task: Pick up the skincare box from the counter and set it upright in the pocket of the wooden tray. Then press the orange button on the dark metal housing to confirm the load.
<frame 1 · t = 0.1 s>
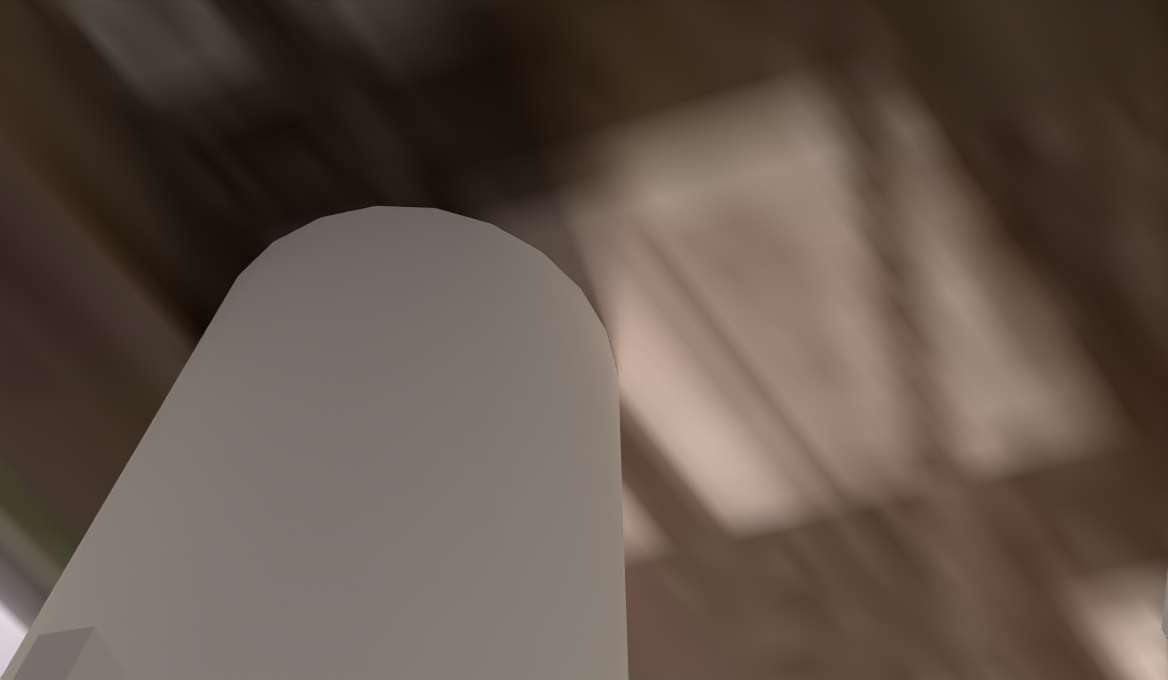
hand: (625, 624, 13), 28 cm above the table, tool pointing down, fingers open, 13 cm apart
cylinder: (416, 387, 46), on the table
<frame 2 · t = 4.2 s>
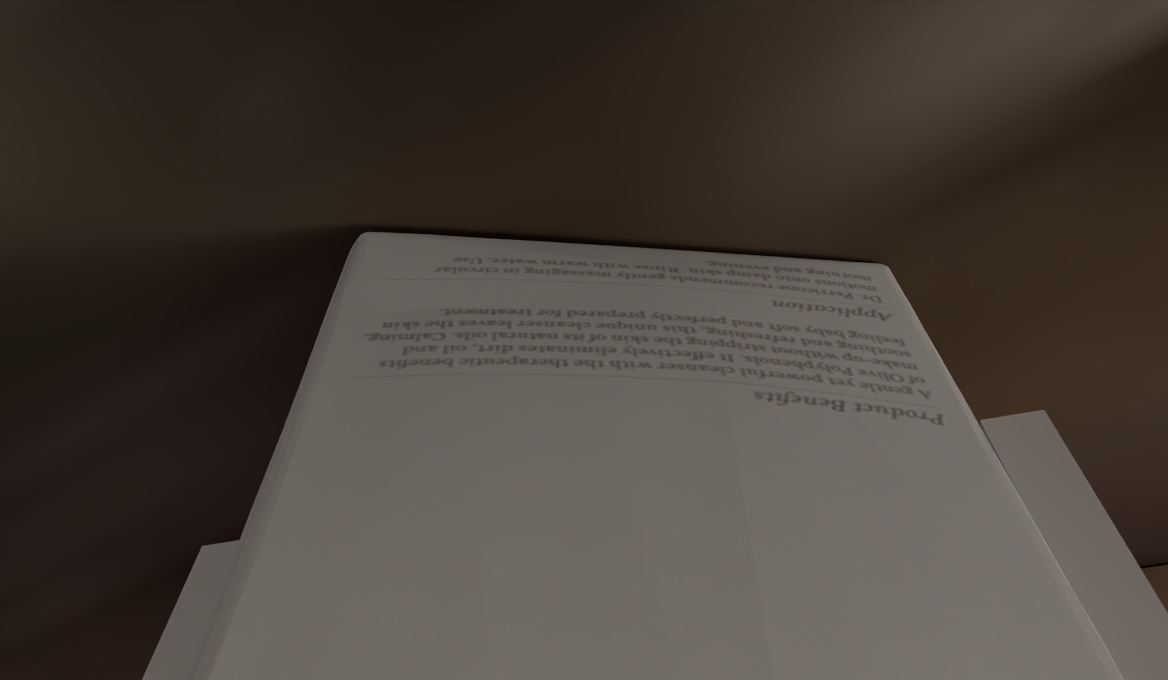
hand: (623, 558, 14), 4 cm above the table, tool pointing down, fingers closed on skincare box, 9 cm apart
skincare box: (618, 393, 17), on the table, touching gripper
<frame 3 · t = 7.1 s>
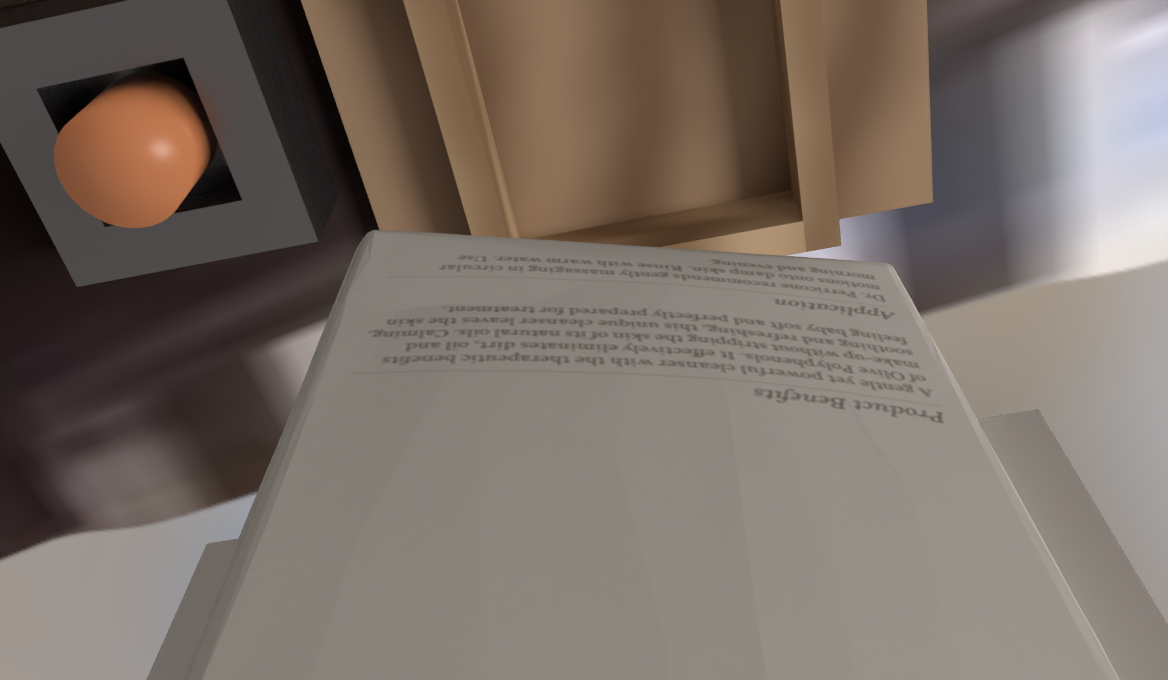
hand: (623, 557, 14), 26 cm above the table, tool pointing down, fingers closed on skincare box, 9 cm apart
button housing: (176, 108, 38), on the table
skincare box: (623, 391, 17), point 22 cm above the table, touching gripper
button: (139, 149, 35), point 4 cm above the table, slide at 0.0 cm
wooden tray: (625, 60, 37), on the table
when the fingers open (6 cm above the table, at t = 10.4 s): skincare box drops 1 cm, resting on wooden tray.
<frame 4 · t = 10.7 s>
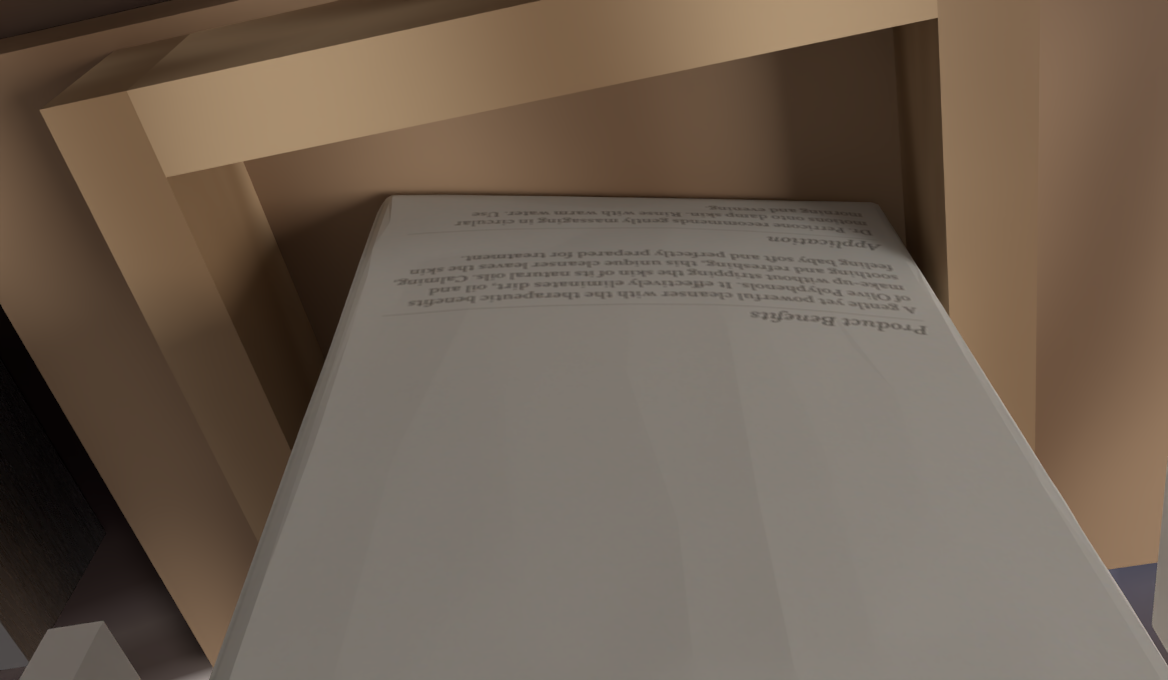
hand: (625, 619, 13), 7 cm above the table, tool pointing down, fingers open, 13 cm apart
skincare box: (632, 339, 18), point 1 cm above the table, touching wooden tray
wooden tray: (615, 316, 19), on the table
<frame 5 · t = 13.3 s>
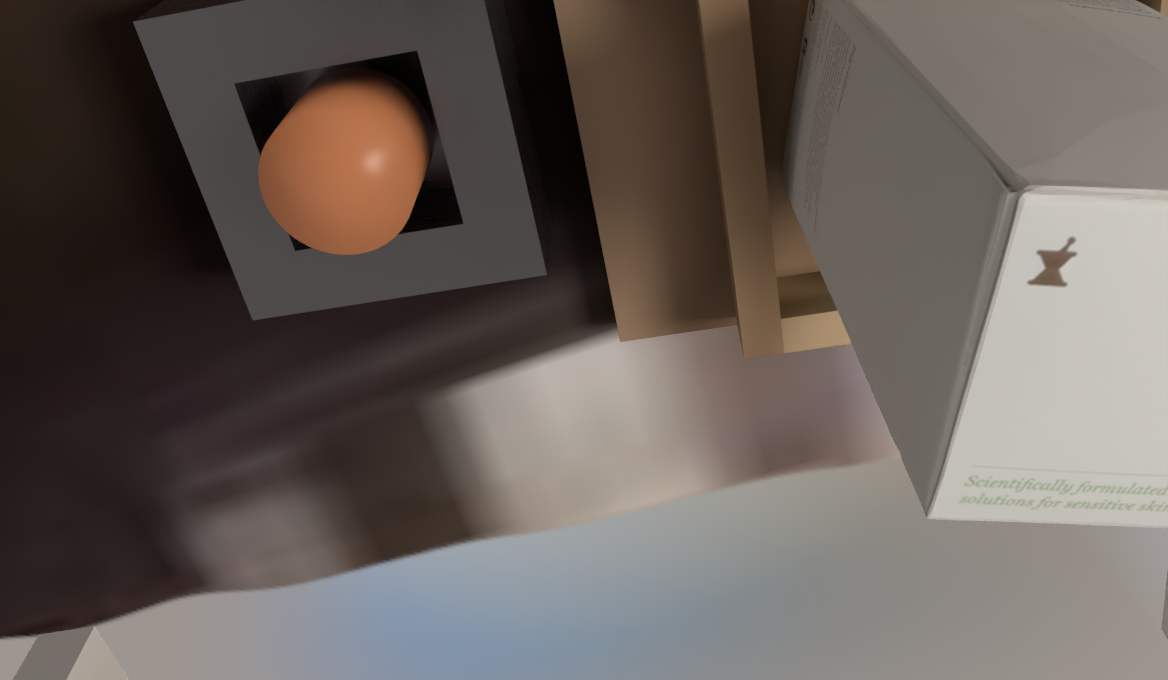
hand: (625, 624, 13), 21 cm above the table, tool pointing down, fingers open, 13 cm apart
button housing: (376, 112, 32), on the table
skincare box: (939, 75, 30), point 1 cm above the table, touching wooden tray
button: (350, 159, 29), point 4 cm above the table, slide at 0.0 cm
wooden tray: (919, 68, 31), on the table
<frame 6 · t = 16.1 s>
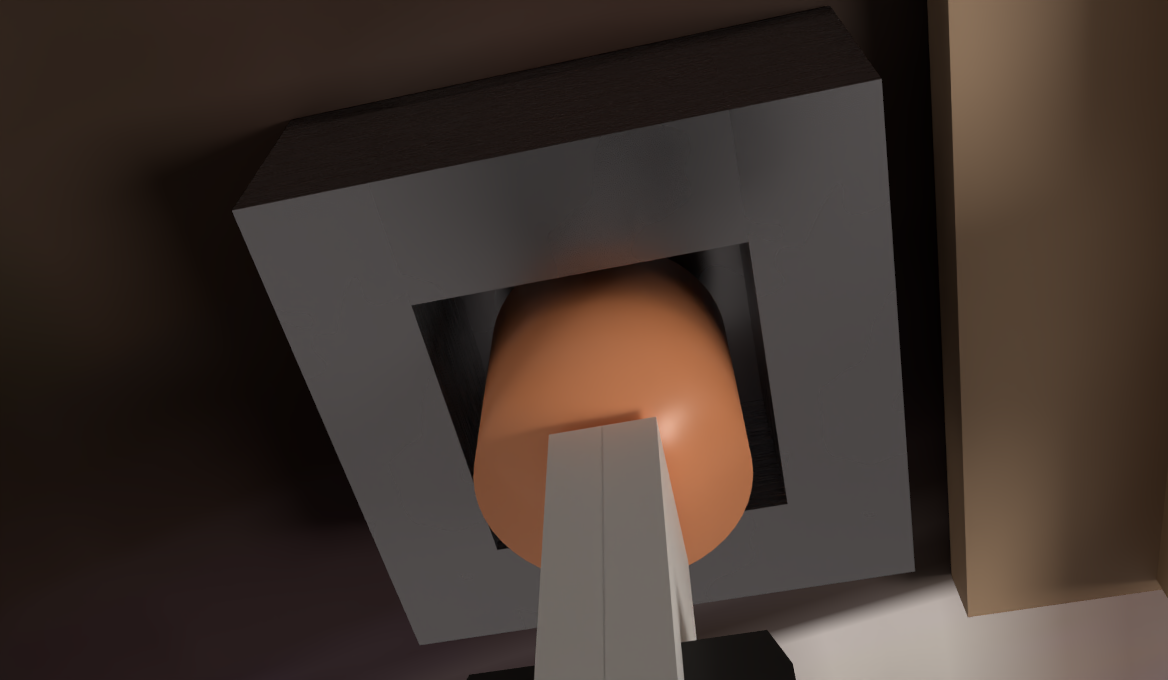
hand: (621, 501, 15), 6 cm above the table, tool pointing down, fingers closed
button housing: (607, 298, 20), on the table
button: (610, 410, 17), point 3 cm above the table, slide at 0.3 cm, touching gripper
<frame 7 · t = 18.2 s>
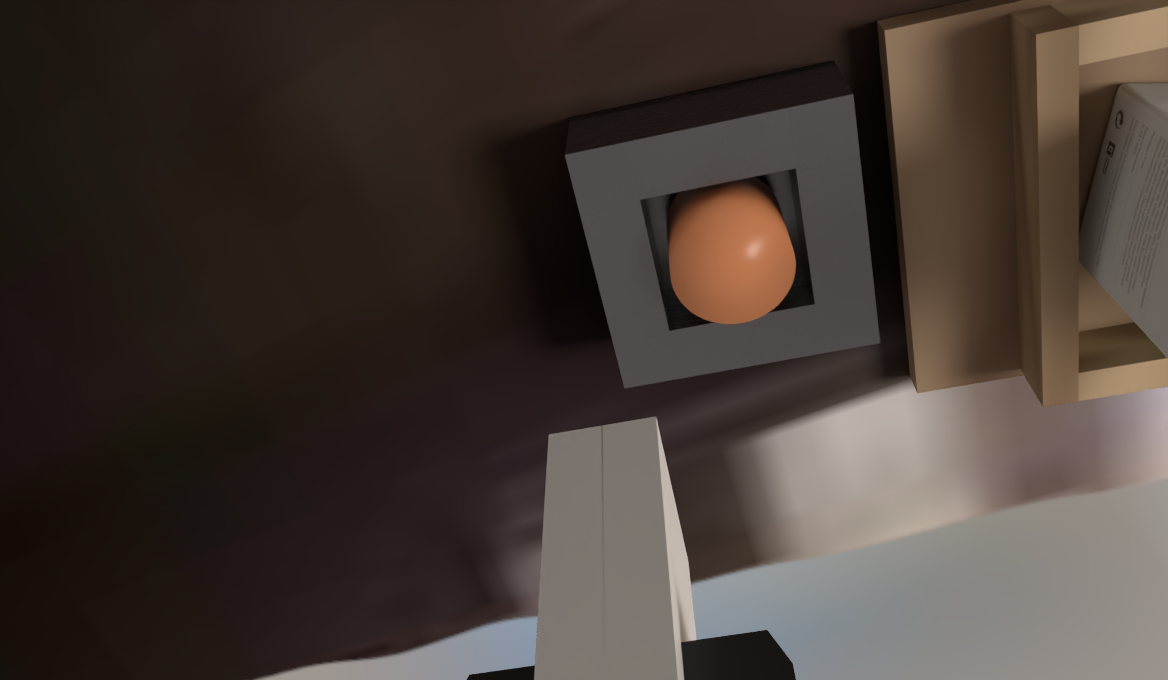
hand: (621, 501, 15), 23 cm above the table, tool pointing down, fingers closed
button housing: (721, 209, 38), on the table
button: (728, 246, 36), point 3 cm above the table, slide at 0.8 cm
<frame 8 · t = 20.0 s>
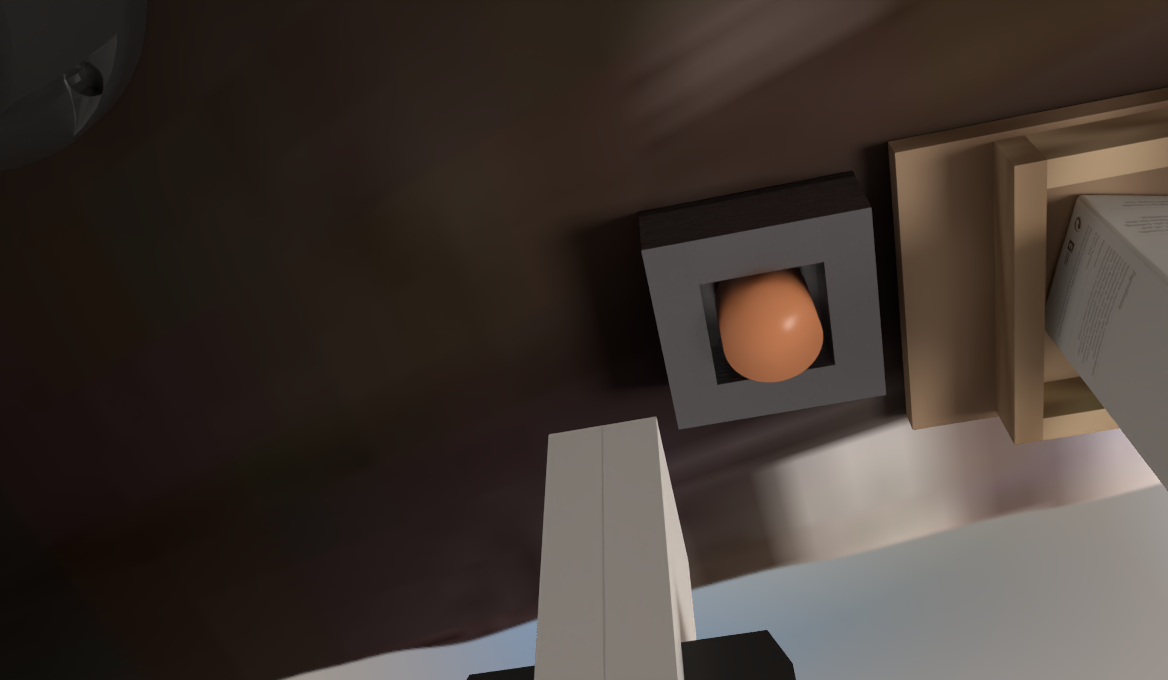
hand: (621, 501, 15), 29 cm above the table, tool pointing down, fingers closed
button housing: (757, 284, 47), on the table
skincare box: (1151, 254, 45), point 1 cm above the table, touching wooden tray
button: (767, 318, 44), point 3 cm above the table, slide at 0.8 cm
wooden tray: (1133, 246, 46), on the table
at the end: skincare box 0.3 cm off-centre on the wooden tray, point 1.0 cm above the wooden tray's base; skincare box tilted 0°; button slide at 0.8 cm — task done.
